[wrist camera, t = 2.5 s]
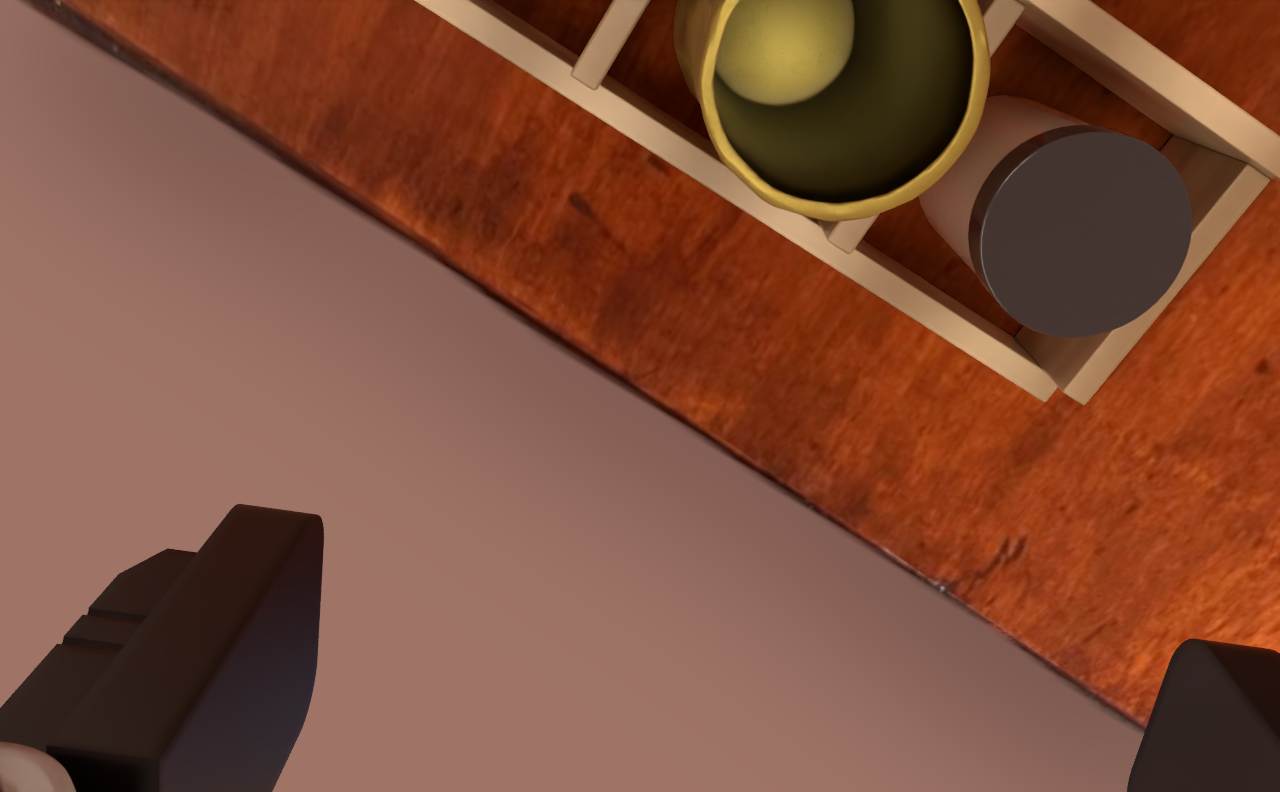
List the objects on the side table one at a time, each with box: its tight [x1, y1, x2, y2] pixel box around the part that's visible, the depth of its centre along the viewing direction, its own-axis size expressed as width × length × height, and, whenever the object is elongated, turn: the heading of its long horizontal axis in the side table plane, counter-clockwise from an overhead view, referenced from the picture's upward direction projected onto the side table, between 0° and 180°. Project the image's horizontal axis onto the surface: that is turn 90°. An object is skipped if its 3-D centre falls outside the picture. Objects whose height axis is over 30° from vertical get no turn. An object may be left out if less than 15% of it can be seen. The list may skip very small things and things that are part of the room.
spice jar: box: [919, 95, 1192, 338], centre depth 32 cm, size 5×5×8 cm
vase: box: [673, 0, 991, 221], centre depth 28 cm, size 6×6×14 cm
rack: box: [414, 0, 1280, 405], centre depth 32 cm, size 25×9×6 cm, turn 58°
